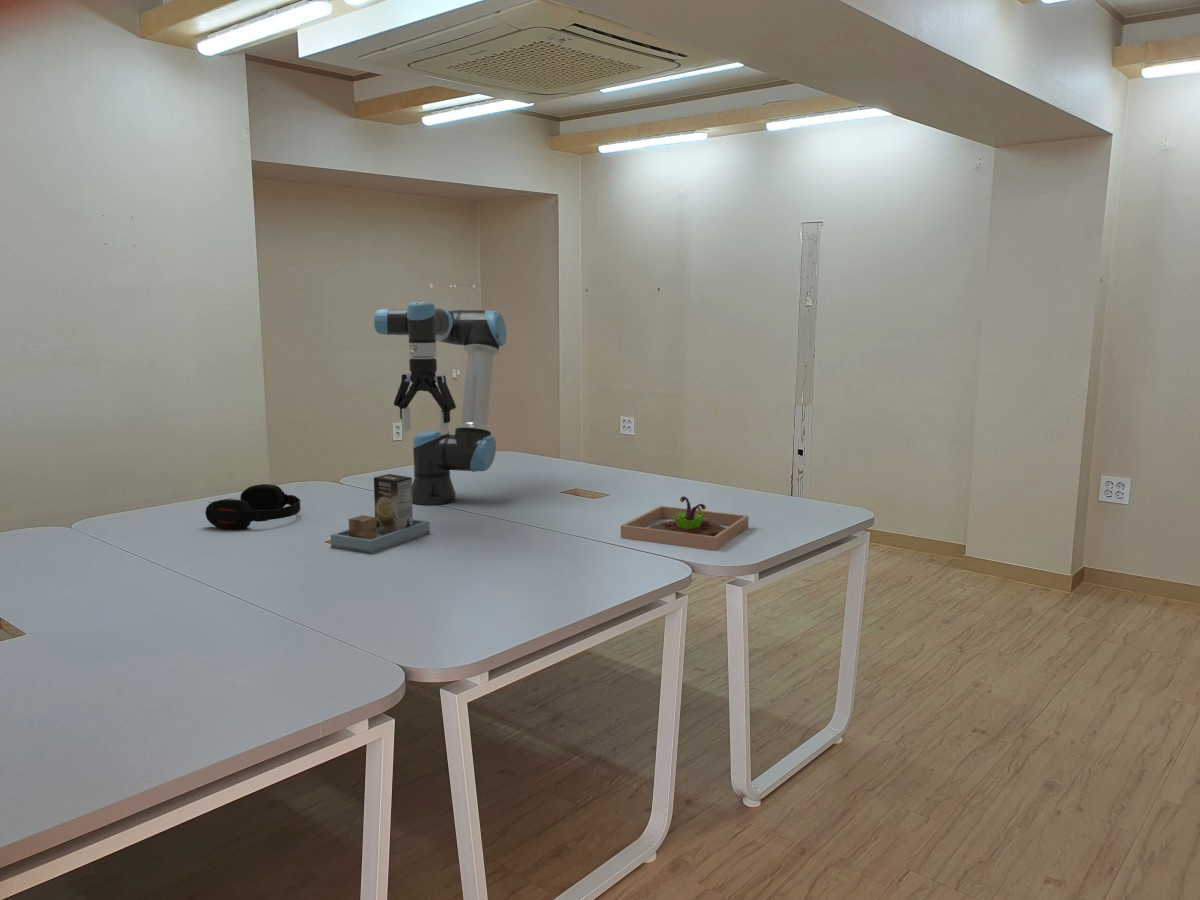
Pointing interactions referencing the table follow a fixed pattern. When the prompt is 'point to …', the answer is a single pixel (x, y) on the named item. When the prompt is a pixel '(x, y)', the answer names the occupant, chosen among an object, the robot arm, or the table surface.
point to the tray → (379, 538)
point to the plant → (690, 522)
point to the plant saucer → (638, 532)
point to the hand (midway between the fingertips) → (425, 432)
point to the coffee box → (393, 503)
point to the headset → (252, 507)
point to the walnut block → (363, 527)
